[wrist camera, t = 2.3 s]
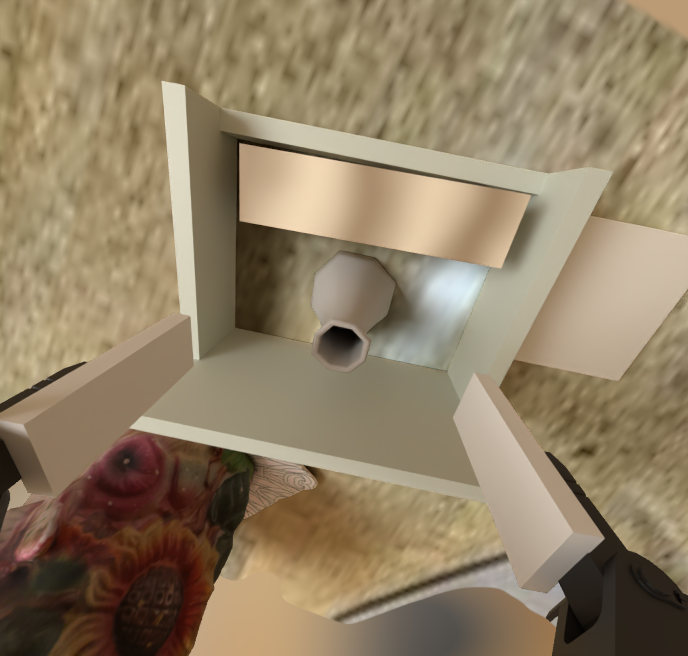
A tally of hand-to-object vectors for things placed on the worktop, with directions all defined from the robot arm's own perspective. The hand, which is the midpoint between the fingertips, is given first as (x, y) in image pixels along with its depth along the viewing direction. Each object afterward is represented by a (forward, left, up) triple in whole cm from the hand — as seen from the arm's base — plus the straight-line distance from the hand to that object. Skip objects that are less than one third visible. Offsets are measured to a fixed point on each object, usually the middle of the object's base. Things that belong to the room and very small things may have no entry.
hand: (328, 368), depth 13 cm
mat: (-19, -3, -12) cm, 23 cm away
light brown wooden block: (0, -7, -12) cm, 14 cm away
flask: (0, 0, -12) cm, 12 cm away
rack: (0, -2, -12) cm, 12 cm away
